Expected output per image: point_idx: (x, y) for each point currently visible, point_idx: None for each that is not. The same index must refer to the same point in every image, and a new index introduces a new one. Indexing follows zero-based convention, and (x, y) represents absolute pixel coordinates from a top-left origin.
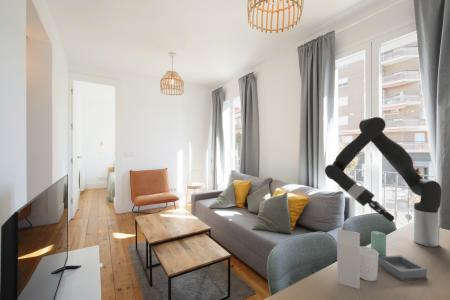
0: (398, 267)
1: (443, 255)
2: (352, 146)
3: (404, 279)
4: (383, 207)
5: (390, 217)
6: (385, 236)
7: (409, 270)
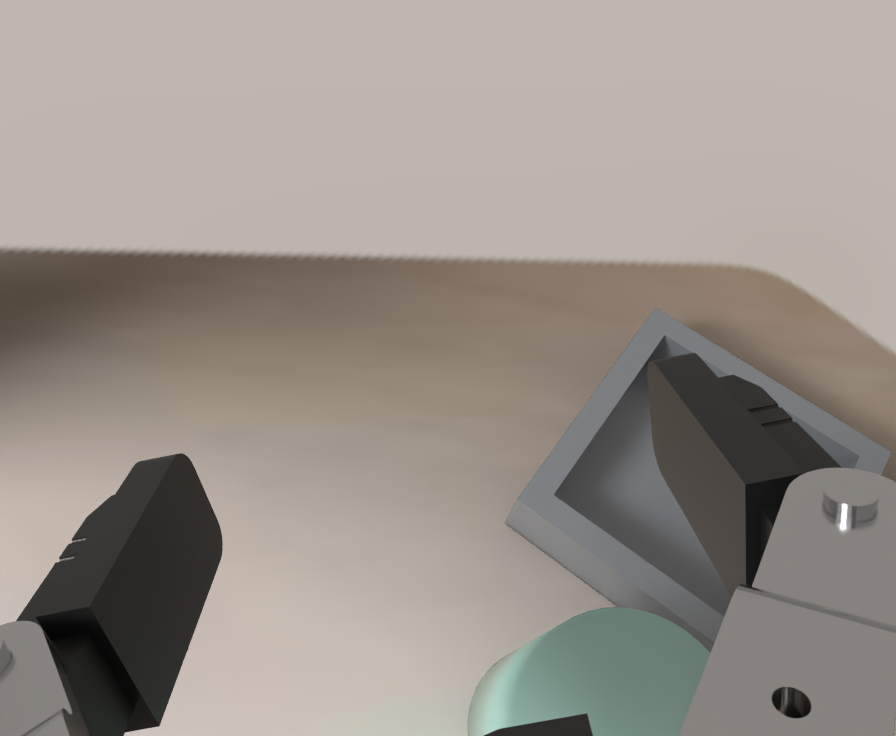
0: (661, 514)
1: (40, 259)
2: None
3: None
4: (64, 716)
5: (765, 411)
6: (635, 612)
7: (799, 403)
